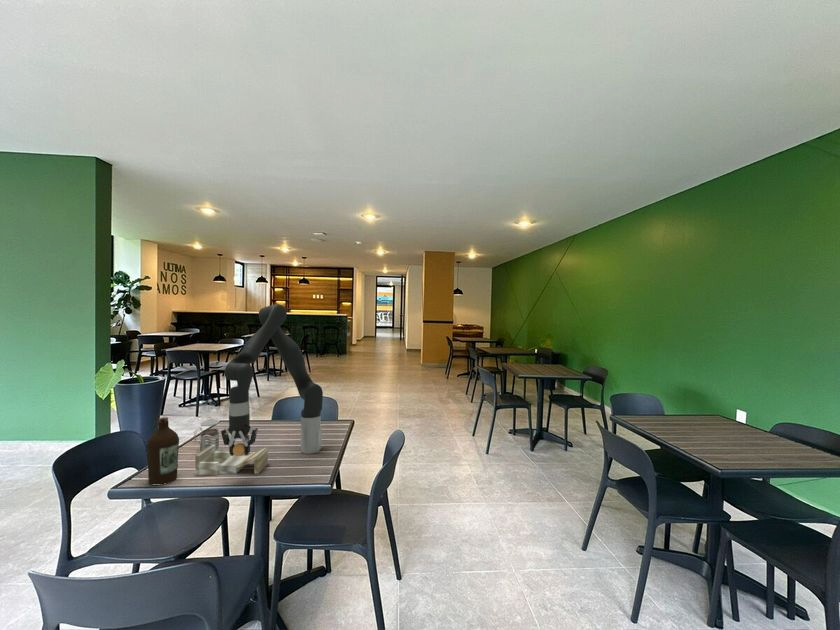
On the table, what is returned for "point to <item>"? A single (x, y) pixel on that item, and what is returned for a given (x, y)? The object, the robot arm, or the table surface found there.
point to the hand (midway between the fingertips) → (239, 454)
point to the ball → (239, 449)
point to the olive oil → (162, 454)
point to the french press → (211, 432)
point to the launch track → (227, 462)
